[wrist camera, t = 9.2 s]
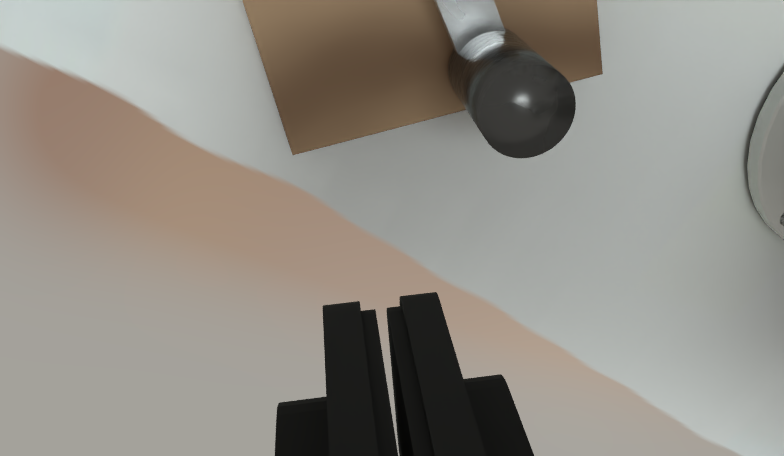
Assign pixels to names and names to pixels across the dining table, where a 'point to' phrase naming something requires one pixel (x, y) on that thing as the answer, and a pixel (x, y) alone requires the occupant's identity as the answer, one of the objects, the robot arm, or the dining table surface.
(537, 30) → the board
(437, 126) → the dining table surface
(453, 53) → the lever
